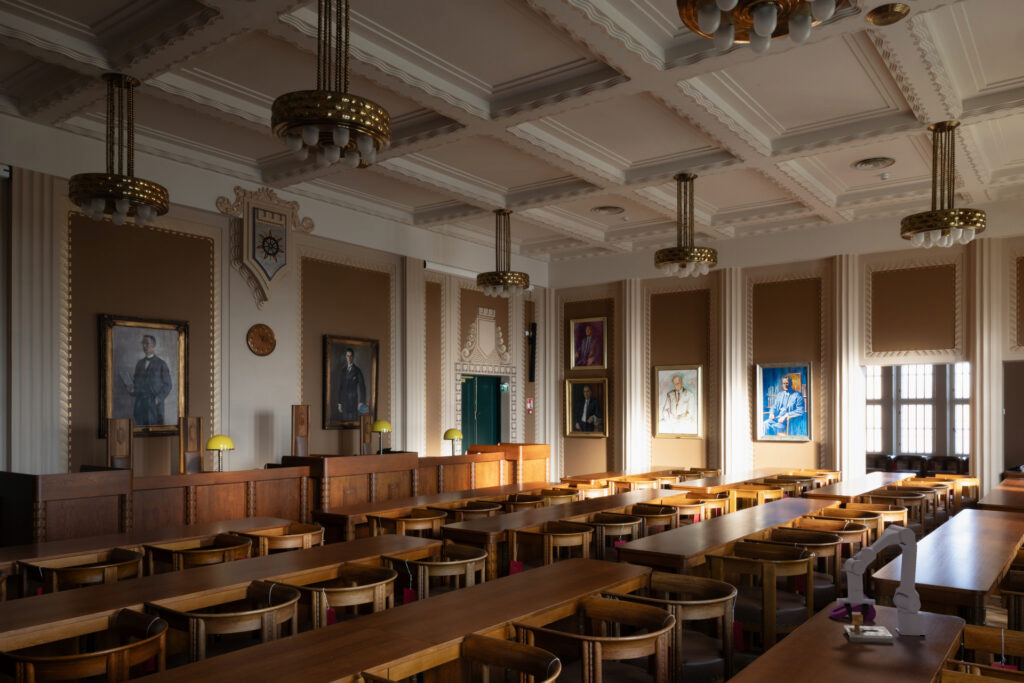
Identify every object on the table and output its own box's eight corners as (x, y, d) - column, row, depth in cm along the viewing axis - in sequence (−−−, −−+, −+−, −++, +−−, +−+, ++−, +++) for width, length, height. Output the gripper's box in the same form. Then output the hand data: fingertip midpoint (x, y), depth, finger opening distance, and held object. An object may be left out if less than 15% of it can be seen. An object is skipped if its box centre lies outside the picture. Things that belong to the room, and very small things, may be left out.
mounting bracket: (841, 634, 345) (879, 617, 342) (831, 616, 346) (869, 599, 343) (836, 627, 354) (873, 611, 352) (826, 610, 355) (863, 593, 353)
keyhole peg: (861, 630, 324) (860, 612, 324) (863, 633, 320) (862, 615, 320) (850, 630, 325) (850, 611, 325) (853, 633, 321) (852, 614, 321)
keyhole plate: (884, 634, 326) (884, 626, 326) (893, 643, 314) (892, 636, 314) (844, 632, 329) (843, 625, 329) (850, 642, 317) (850, 634, 317)
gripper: (871, 586, 326) (873, 619, 325) (834, 585, 328) (836, 618, 328) (876, 591, 319) (877, 625, 318) (838, 590, 321) (839, 623, 321)
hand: (856, 622), depth 322 cm, fingers closed on keyhole peg, 4 cm apart
